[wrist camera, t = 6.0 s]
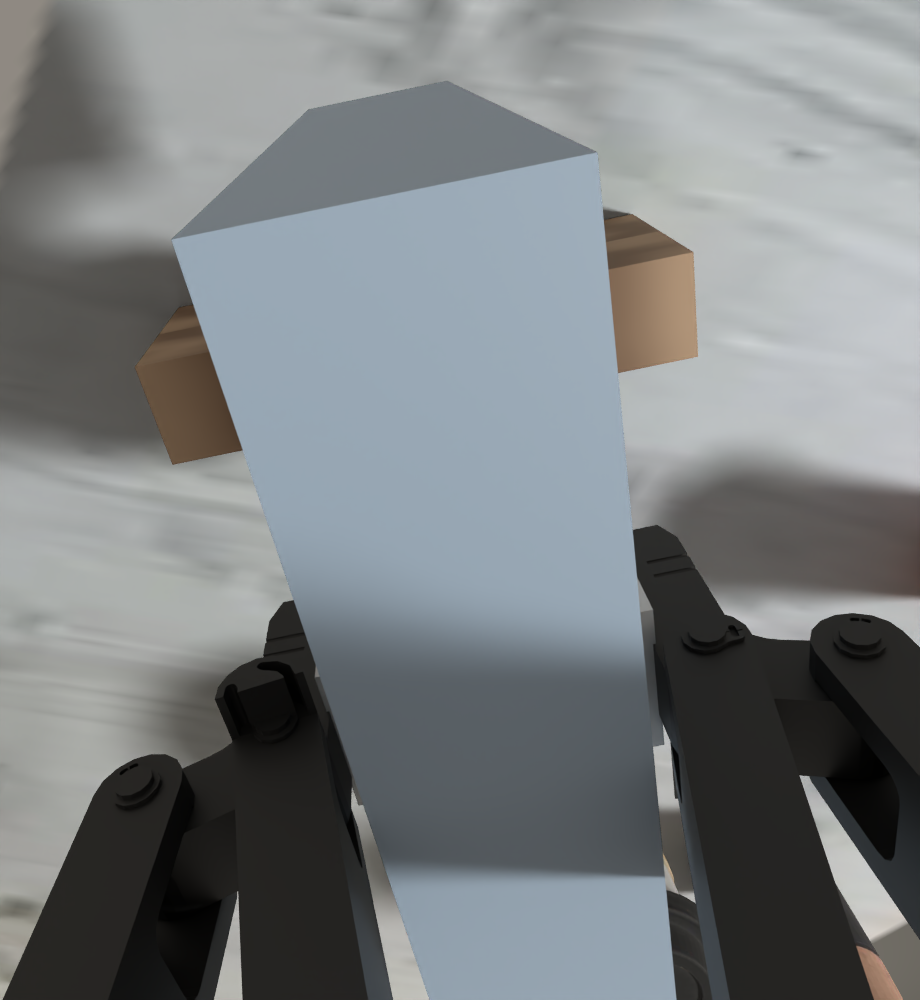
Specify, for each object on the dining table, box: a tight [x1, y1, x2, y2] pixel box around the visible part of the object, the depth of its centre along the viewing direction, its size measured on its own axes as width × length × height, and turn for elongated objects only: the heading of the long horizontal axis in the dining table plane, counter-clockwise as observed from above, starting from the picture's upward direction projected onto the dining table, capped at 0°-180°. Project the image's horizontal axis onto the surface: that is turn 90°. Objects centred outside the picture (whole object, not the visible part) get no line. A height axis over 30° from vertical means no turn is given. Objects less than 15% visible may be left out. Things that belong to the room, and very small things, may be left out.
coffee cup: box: [663, 854, 712, 1000], centre depth 38 cm, size 9×9×15 cm
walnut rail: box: [135, 214, 698, 464], centre depth 30 cm, size 18×4×7 cm, turn 100°
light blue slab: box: [171, 81, 676, 1000], centre depth 18 cm, size 4×16×16 cm, turn 10°
